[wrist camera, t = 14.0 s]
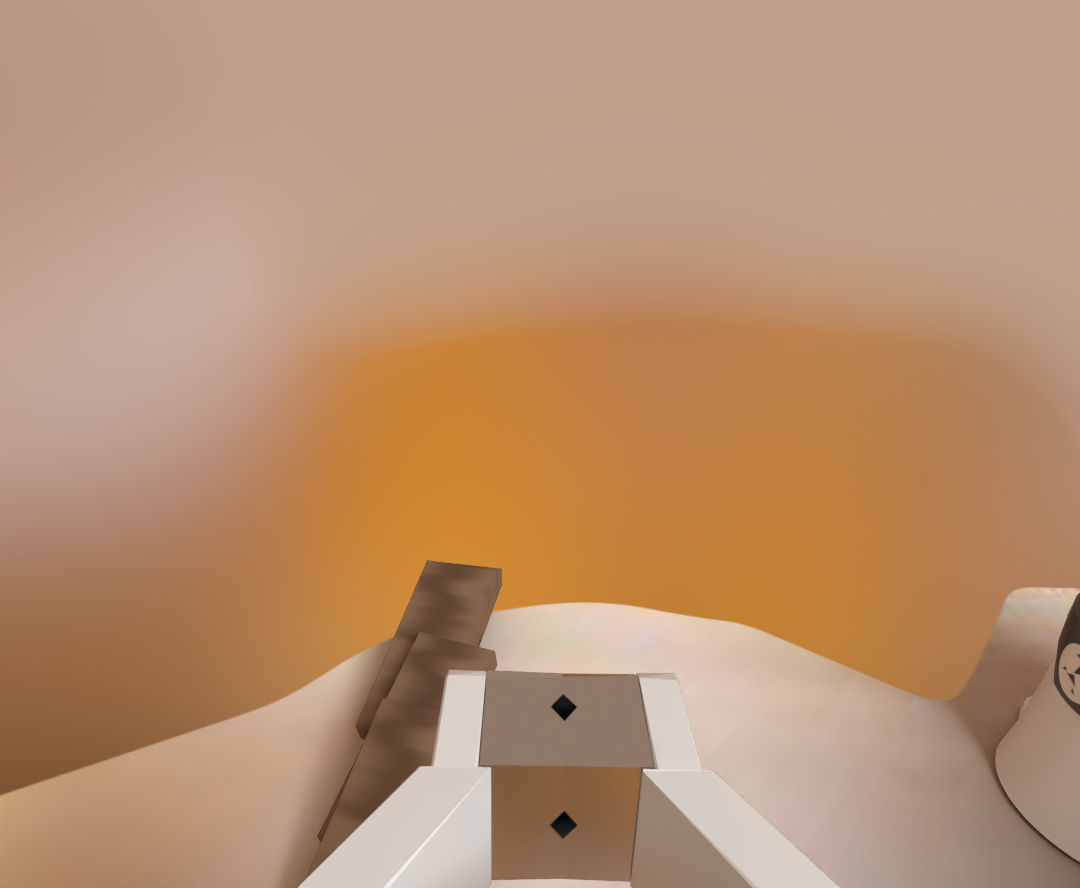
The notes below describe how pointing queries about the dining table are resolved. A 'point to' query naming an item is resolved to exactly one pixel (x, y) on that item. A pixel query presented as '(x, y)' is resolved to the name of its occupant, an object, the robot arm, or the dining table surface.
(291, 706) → the dining table surface
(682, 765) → the robot arm
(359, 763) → the domino
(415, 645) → the domino
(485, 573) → the domino
